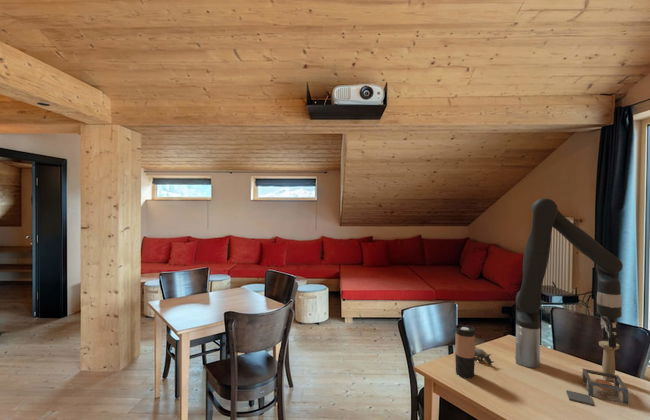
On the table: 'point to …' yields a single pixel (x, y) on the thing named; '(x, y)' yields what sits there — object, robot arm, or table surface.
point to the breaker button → (603, 383)
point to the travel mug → (465, 351)
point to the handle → (608, 359)
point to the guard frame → (605, 394)
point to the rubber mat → (579, 397)
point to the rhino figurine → (482, 355)
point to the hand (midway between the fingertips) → (609, 342)
